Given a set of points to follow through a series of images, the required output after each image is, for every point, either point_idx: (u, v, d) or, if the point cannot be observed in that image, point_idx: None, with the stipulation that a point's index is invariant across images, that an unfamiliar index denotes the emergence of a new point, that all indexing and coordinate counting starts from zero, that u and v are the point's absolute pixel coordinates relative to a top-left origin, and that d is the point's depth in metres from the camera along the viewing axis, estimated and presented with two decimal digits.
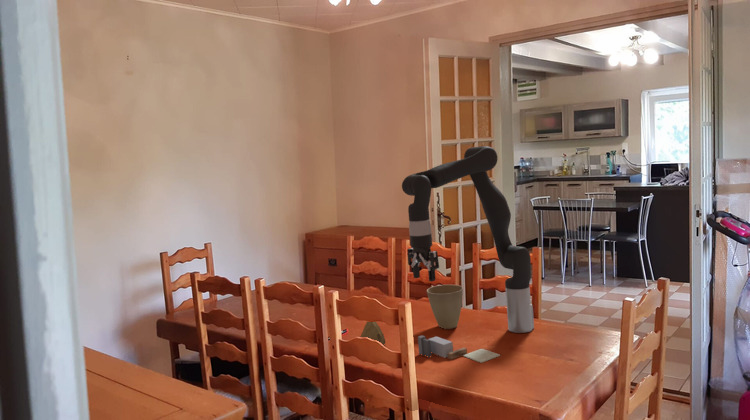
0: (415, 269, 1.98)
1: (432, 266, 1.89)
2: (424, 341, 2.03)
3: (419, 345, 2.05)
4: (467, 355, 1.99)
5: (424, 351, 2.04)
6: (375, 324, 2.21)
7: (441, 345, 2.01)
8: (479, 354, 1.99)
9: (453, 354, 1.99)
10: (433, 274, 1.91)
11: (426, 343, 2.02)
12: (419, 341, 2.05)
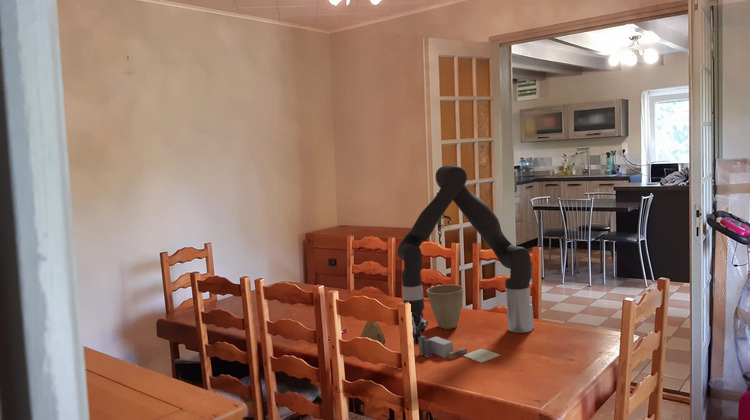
0: None
1: (417, 330, 2.05)
2: (424, 341, 2.03)
3: (419, 345, 2.05)
4: (467, 355, 1.99)
5: (424, 351, 2.03)
6: (375, 324, 2.21)
7: (441, 345, 2.01)
8: (479, 354, 1.99)
9: (453, 354, 1.99)
10: None
11: (426, 343, 2.02)
12: (419, 341, 2.05)
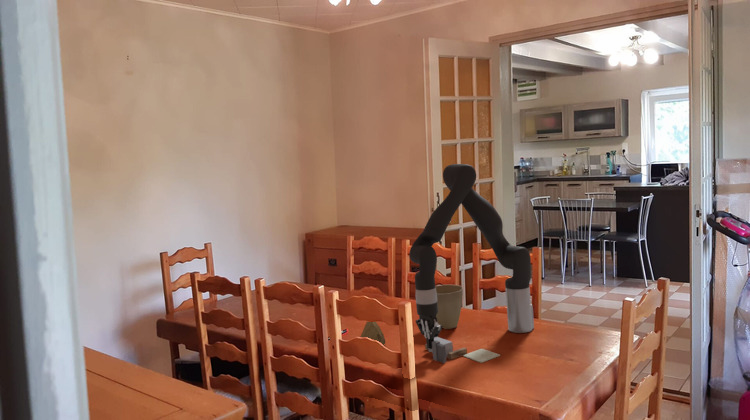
0: None
1: (431, 335, 1.98)
2: (439, 346, 1.96)
3: (433, 350, 1.98)
4: (467, 355, 1.99)
5: (439, 357, 1.97)
6: (375, 324, 2.21)
7: None
8: (479, 354, 1.99)
9: (453, 354, 1.99)
10: None
11: (441, 348, 1.95)
12: (433, 346, 1.98)
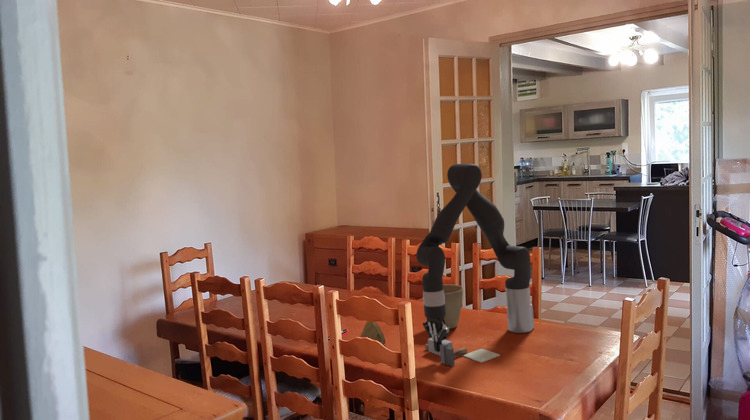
0: None
1: (439, 338, 1.94)
2: (447, 349, 1.92)
3: (441, 353, 1.95)
4: (467, 355, 1.99)
5: (447, 360, 1.93)
6: (375, 324, 2.21)
7: None
8: (479, 354, 1.99)
9: None
10: None
11: (449, 351, 1.92)
12: (441, 349, 1.94)
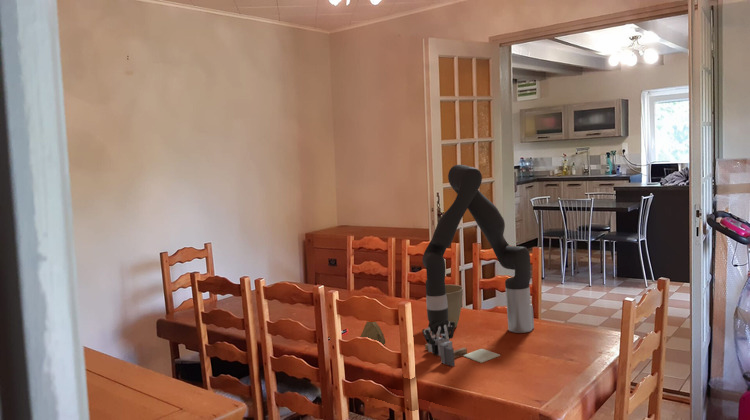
0: None
1: None
2: (447, 349, 1.92)
3: (441, 353, 1.95)
4: (467, 355, 1.99)
5: (447, 360, 1.93)
6: (375, 324, 2.21)
7: None
8: (479, 354, 1.99)
9: None
10: (433, 348, 2.03)
11: (449, 351, 1.92)
12: (441, 349, 1.94)
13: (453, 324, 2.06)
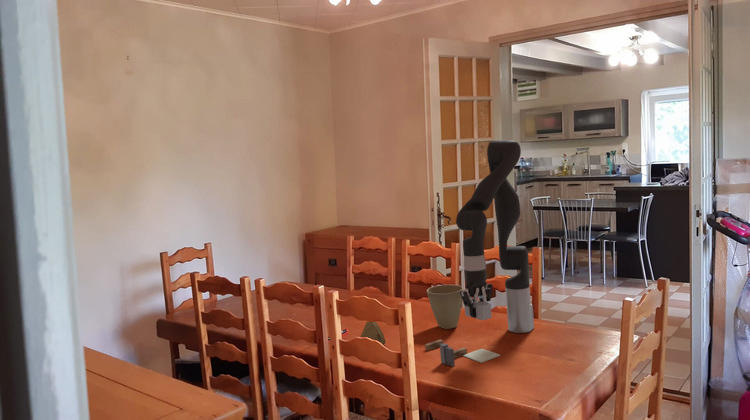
0: None
1: None
2: (447, 349, 1.92)
3: (441, 353, 1.95)
4: (467, 355, 1.99)
5: (447, 360, 1.93)
6: (375, 324, 2.21)
7: (479, 307, 1.93)
8: (479, 354, 1.99)
9: None
10: (470, 311, 1.95)
11: (449, 351, 1.92)
12: (441, 349, 1.94)
13: (491, 286, 1.99)
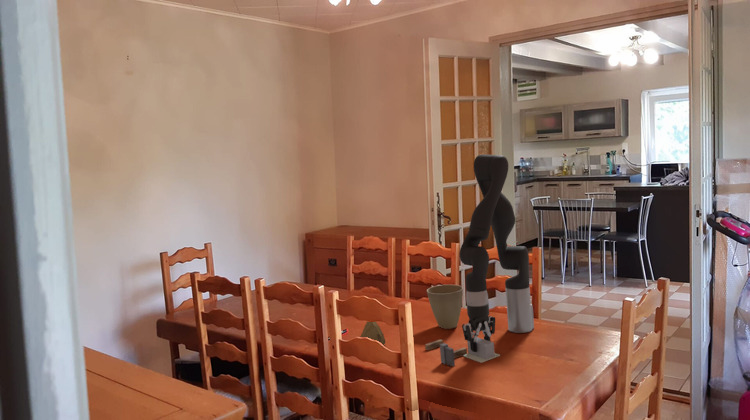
0: (484, 338, 2.00)
1: None
2: (447, 349, 1.92)
3: (441, 353, 1.95)
4: (467, 355, 1.99)
5: (447, 360, 1.93)
6: (375, 324, 2.21)
7: (482, 346, 1.95)
8: None
9: None
10: (471, 345, 1.96)
11: (449, 351, 1.92)
12: (441, 349, 1.94)
13: (493, 319, 2.00)
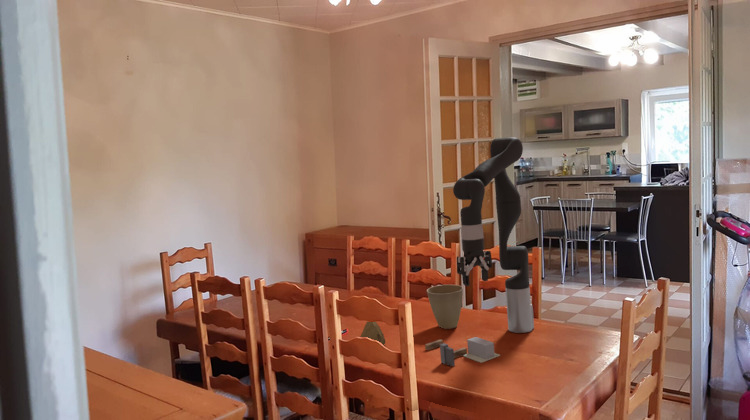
0: (482, 272, 1.98)
1: None
2: (447, 349, 1.92)
3: (441, 353, 1.95)
4: (467, 355, 1.99)
5: (447, 360, 1.93)
6: (375, 324, 2.21)
7: (482, 346, 1.95)
8: None
9: None
10: (463, 279, 1.93)
11: (449, 351, 1.92)
12: (441, 349, 1.94)
13: (489, 253, 1.98)
